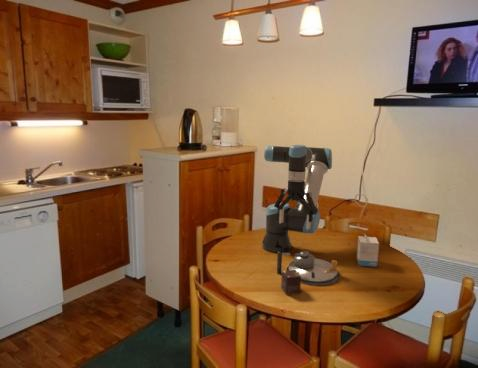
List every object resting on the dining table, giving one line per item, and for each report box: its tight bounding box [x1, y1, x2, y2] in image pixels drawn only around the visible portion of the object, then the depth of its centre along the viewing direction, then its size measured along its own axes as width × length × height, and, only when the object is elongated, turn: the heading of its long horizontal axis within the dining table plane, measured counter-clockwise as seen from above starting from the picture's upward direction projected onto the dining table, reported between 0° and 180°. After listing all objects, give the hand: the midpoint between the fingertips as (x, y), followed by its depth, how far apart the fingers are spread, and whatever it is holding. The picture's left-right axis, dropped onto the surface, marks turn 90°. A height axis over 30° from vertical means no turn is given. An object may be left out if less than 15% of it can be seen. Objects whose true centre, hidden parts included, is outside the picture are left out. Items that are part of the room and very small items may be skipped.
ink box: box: [356, 233, 380, 268], centre depth 164 cm, size 9×8×13 cm
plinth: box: [285, 265, 340, 287], centre depth 154 cm, size 23×23×1 cm
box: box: [280, 270, 302, 296], centre depth 138 cm, size 6×6×7 cm
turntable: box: [288, 258, 338, 283], centre depth 153 cm, size 21×21×6 cm
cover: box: [293, 250, 316, 269], centre depth 155 cm, size 9×9×6 cm
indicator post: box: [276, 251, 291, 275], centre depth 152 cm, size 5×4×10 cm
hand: (294, 225), depth 158 cm, fingers open, 13 cm apart
